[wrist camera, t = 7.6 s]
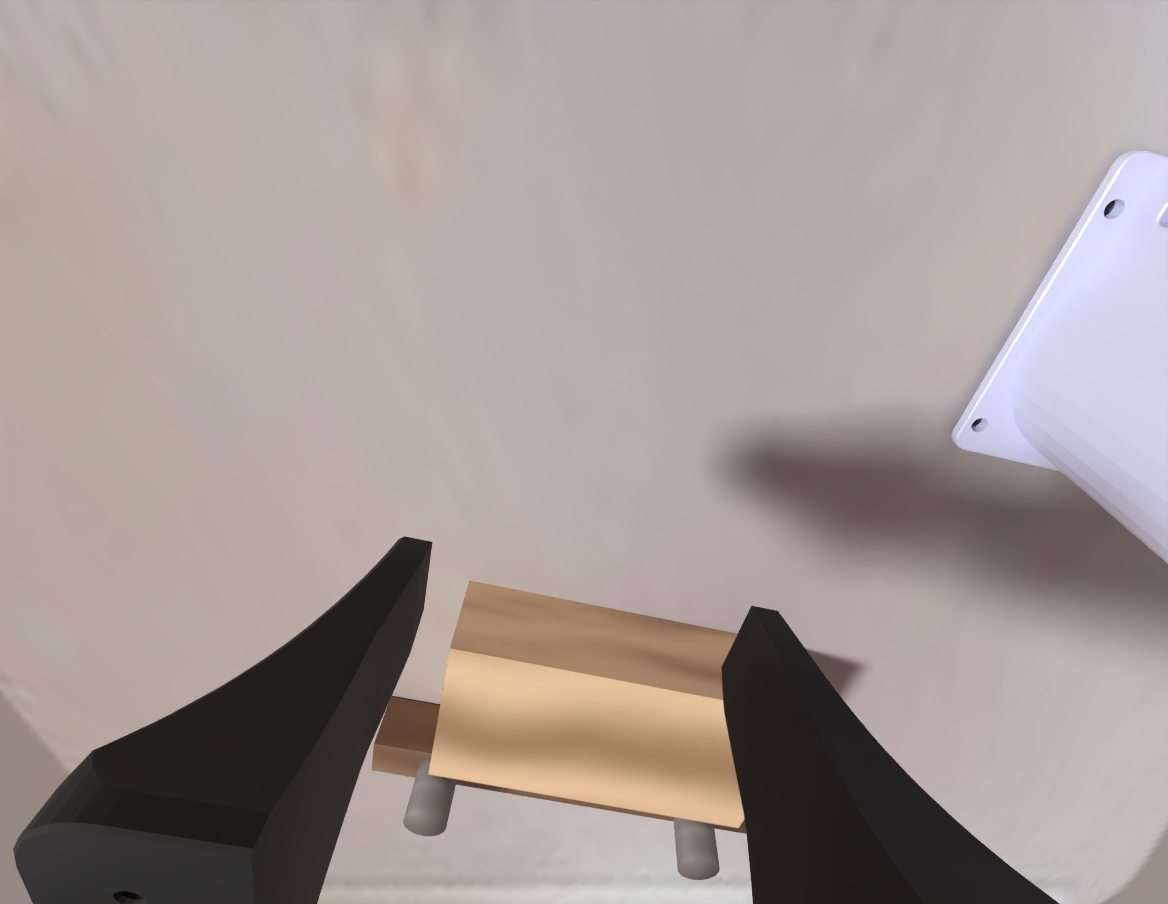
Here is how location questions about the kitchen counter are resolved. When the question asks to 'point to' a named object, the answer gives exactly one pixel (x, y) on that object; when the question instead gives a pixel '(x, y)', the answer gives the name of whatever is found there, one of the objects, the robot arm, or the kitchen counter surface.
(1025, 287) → the kitchen counter surface
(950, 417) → the kitchen counter surface
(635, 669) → the wooden block
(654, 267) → the kitchen counter surface
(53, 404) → the kitchen counter surface
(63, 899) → the robot arm
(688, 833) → the bar
